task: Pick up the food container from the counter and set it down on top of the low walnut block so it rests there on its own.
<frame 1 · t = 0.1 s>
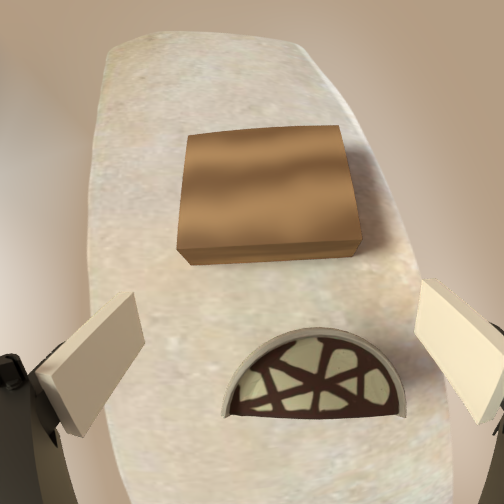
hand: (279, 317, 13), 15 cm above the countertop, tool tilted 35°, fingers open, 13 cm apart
walnut block: (268, 204, 33), on the countertop
food container: (308, 369, 26), on the countertop
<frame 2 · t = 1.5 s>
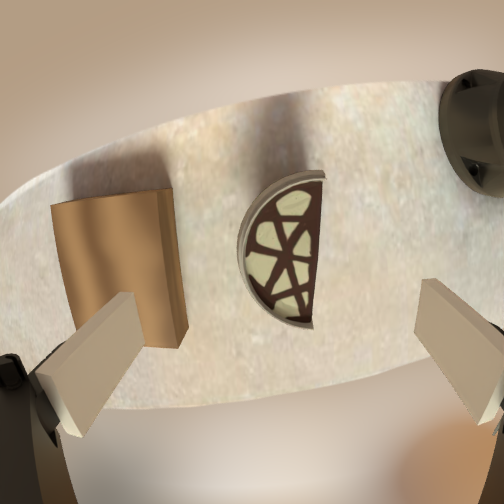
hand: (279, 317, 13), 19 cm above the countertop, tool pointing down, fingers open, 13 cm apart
walnut block: (128, 262, 34), on the countertop
food container: (276, 228, 31), on the countertop
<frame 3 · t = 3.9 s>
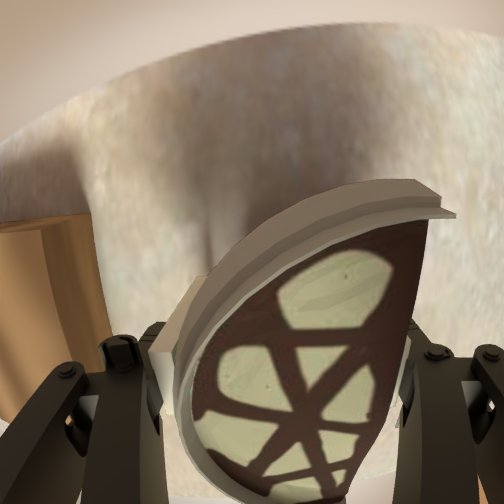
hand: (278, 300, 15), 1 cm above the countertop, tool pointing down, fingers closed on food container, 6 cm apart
walnut block: (46, 325, 19), on the countertop
food container: (276, 287, 16), on the countertop, touching gripper
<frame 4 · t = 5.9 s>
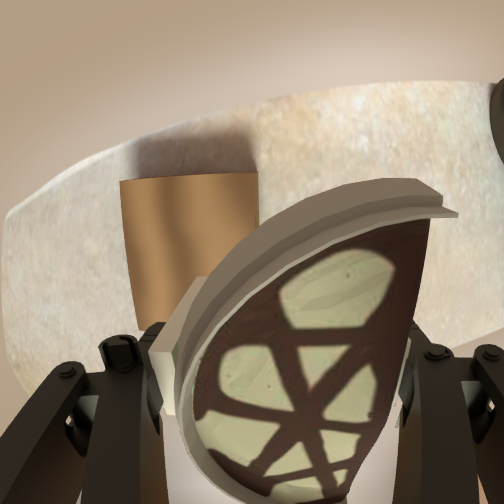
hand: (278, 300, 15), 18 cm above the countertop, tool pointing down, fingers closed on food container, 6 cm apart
walnut block: (200, 247, 34), on the countertop
food container: (277, 287, 16), point 16 cm above the countertop, touching gripper
when the fingers open (7 cm above the countertop, at t = 8.1 s): food container drops 1 cm, resting on walnut block.
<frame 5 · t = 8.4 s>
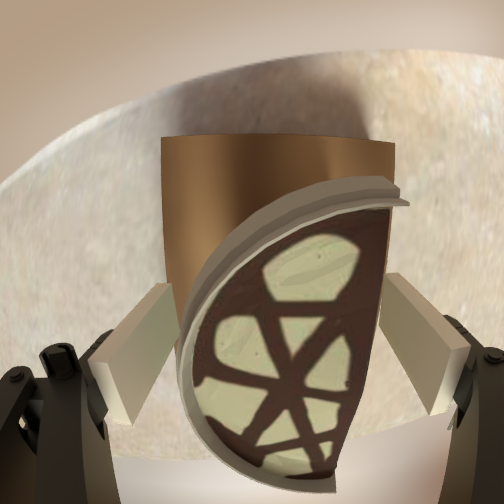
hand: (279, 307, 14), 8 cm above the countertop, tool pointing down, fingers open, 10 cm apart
walnut block: (275, 254, 22), on the countertop, touching food container
food container: (274, 279, 18), point 4 cm above the countertop, touching walnut block
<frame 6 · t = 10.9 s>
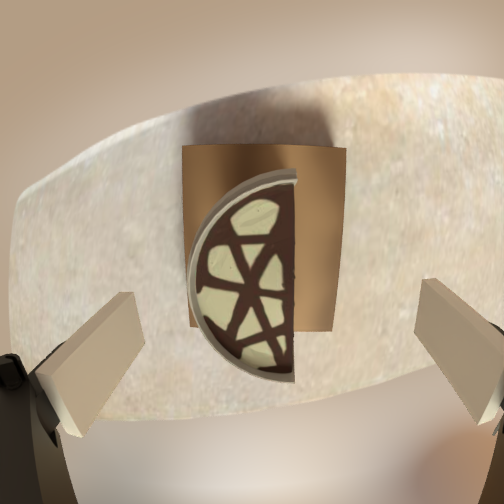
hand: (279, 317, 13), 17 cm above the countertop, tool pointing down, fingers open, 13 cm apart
walnut block: (263, 231, 30), on the countertop, touching food container
food container: (253, 247, 25), point 4 cm above the countertop, touching walnut block
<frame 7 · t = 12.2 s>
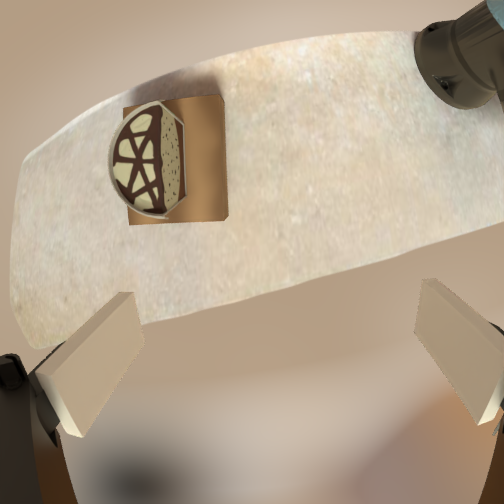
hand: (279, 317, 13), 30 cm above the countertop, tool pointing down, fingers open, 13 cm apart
walnut block: (181, 161, 41), on the countertop
food container: (162, 162, 37), point 4 cm above the countertop
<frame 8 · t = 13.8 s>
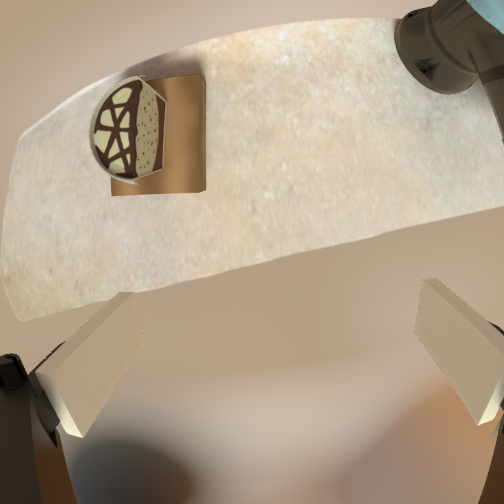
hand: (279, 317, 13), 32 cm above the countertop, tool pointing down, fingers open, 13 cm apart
walnut block: (163, 138, 42), on the countertop, touching food container
food container: (144, 135, 37), point 4 cm above the countertop, touching walnut block
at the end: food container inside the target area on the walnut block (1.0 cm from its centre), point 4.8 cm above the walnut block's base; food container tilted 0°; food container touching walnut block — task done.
